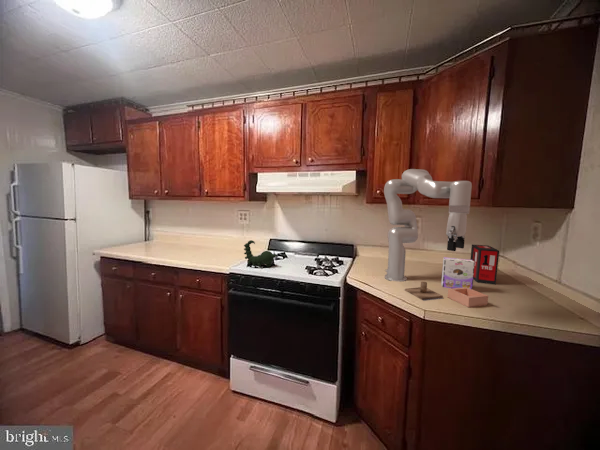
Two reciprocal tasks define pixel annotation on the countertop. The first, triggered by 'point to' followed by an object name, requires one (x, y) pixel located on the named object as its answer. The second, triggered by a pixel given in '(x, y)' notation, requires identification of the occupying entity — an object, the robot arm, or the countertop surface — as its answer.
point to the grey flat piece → (431, 299)
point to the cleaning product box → (485, 263)
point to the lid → (423, 292)
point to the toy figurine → (264, 258)
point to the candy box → (457, 273)
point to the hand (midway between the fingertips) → (455, 249)
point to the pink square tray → (467, 297)
